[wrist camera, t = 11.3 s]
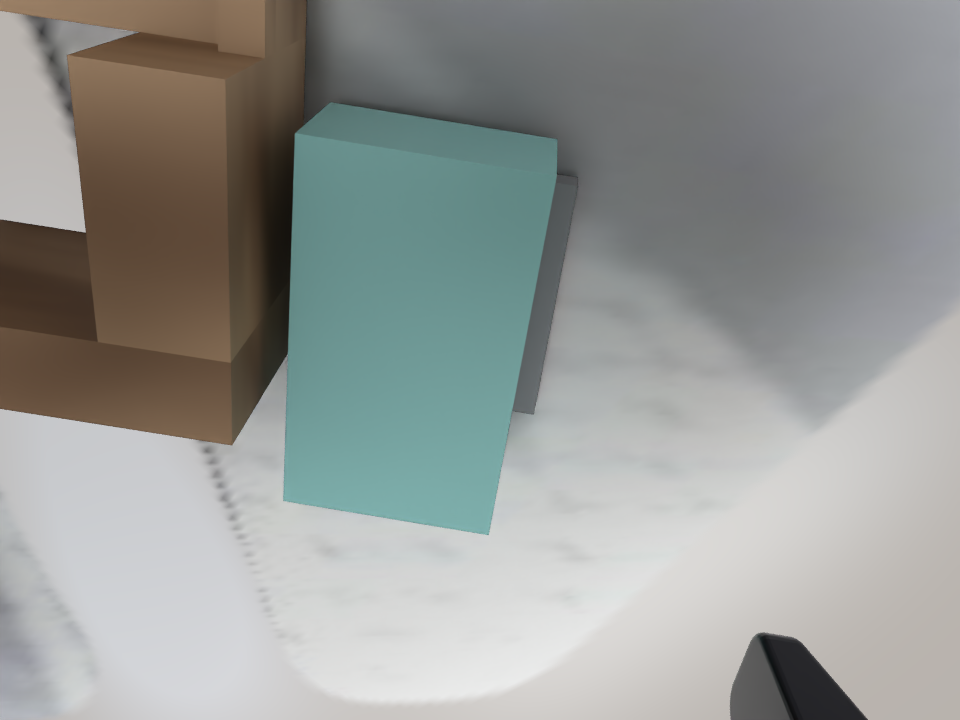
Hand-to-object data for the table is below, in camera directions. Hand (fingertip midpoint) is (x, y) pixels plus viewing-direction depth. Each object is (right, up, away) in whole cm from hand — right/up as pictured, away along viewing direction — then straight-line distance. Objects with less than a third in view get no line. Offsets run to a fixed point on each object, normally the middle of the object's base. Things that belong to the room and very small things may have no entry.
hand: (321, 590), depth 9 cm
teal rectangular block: (0, +4, +10) cm, 10 cm away
